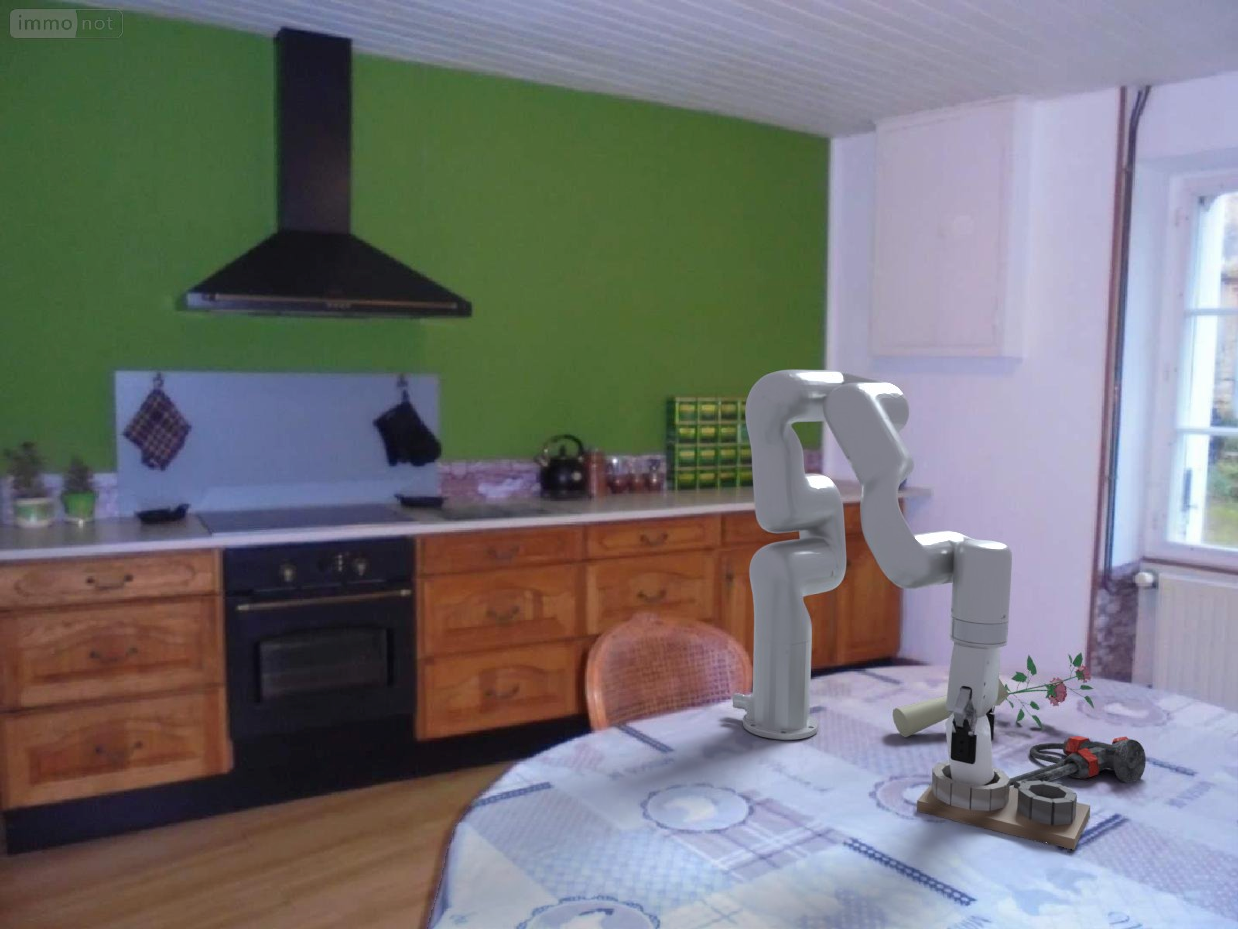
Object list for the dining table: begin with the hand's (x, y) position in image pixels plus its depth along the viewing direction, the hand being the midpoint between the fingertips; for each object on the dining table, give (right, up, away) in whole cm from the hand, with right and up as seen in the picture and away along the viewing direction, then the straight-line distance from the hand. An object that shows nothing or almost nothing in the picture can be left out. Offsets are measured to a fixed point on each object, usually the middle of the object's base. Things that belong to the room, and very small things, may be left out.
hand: (972, 750), depth 142 cm
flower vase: (+14, -5, +31) cm, 34 cm away
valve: (+18, -7, +12) cm, 23 cm away
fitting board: (+3, -8, -3) cm, 9 cm away
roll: (0, -4, 0) cm, 4 cm away
